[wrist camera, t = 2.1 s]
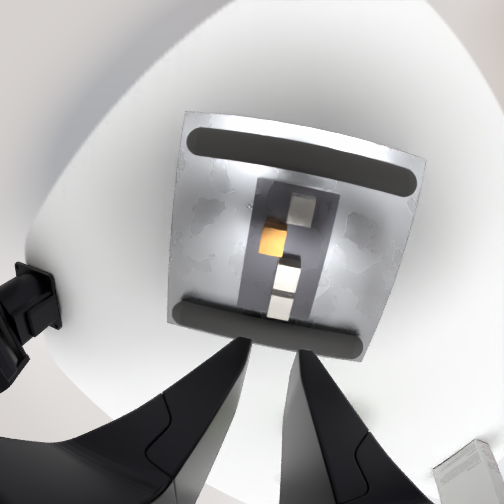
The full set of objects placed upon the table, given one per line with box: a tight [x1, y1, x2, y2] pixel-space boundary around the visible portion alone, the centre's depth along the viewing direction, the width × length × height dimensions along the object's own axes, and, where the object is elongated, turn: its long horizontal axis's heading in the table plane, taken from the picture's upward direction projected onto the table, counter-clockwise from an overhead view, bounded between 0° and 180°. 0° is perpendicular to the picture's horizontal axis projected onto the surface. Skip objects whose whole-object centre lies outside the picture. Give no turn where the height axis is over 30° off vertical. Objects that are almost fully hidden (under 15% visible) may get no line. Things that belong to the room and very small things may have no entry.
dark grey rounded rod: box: [172, 301, 363, 359], centre depth 18 cm, size 13×2×2 cm, turn 81°
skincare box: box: [433, 439, 504, 504], centre depth 18 cm, size 8×7×16 cm
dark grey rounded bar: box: [186, 127, 417, 197], centre depth 14 cm, size 13×2×2 cm, turn 81°
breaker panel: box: [167, 111, 426, 362], centre depth 17 cm, size 14×14×4 cm
